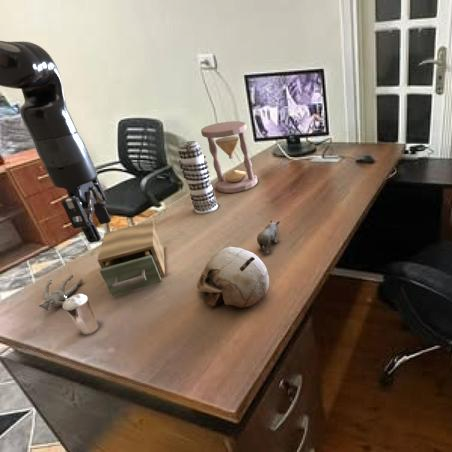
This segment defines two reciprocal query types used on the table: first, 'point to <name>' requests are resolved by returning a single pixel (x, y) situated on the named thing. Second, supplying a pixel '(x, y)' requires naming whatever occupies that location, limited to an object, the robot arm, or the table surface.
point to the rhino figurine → (268, 236)
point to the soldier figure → (57, 294)
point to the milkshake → (80, 312)
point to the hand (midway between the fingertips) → (100, 231)
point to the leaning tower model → (197, 177)
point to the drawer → (130, 272)
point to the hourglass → (230, 155)
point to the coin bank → (233, 278)
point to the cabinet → (132, 244)
